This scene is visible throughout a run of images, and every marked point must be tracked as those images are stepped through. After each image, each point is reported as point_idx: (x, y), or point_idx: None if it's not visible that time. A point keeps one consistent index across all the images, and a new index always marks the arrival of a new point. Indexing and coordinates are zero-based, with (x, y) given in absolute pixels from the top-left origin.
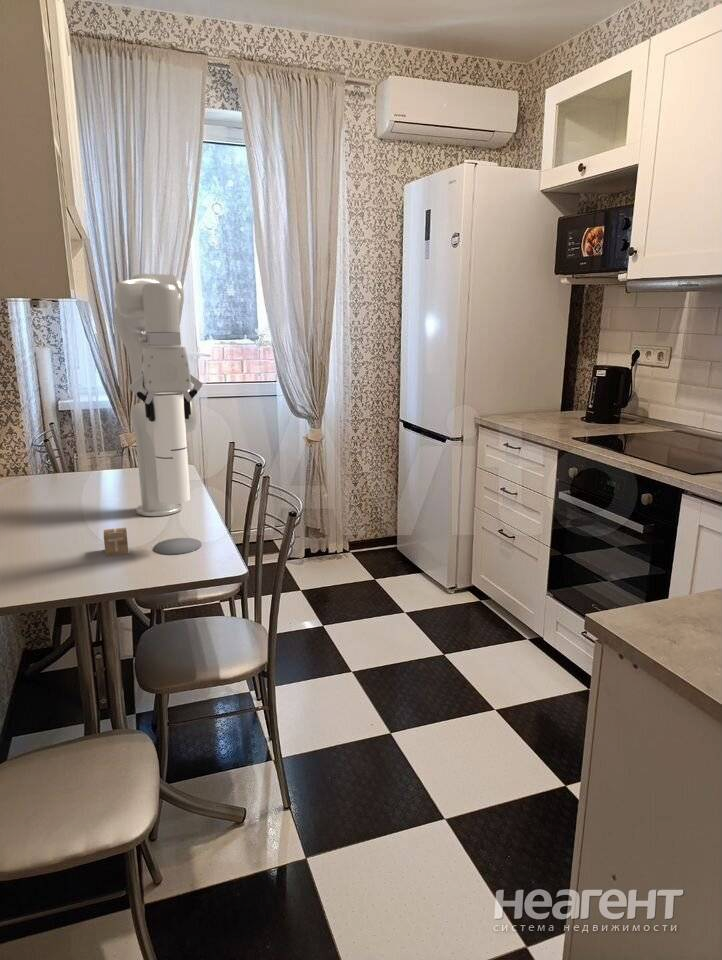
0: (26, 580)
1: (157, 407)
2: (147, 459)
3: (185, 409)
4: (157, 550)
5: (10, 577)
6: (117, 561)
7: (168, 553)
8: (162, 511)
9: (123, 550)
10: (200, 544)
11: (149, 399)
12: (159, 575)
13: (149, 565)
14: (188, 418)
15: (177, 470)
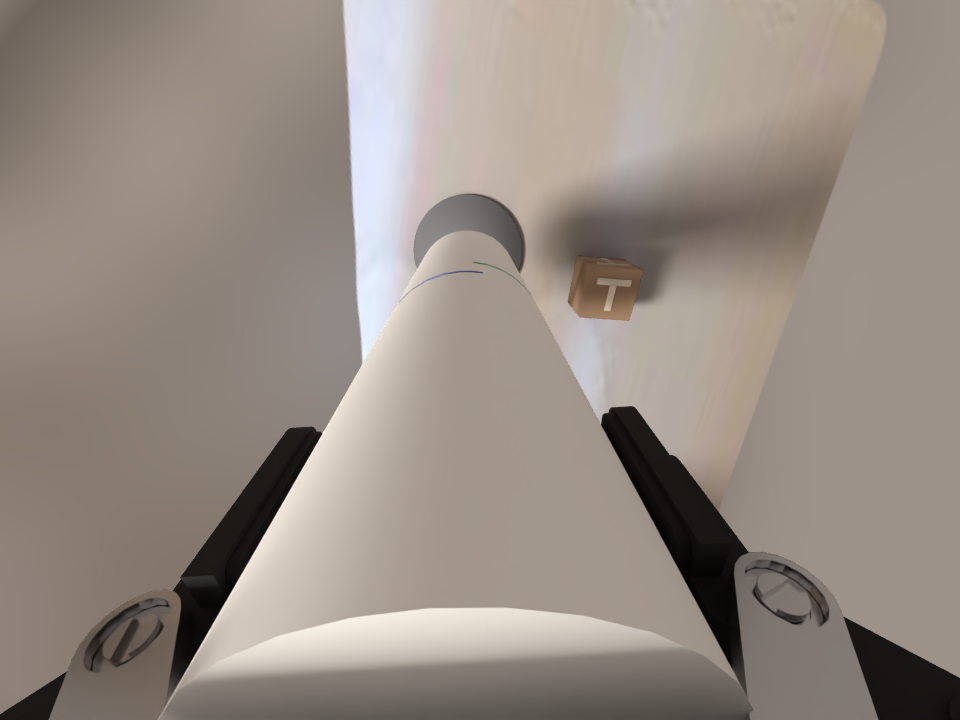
0: (805, 172)
1: (626, 480)
2: None
3: (278, 494)
4: (518, 236)
5: (821, 210)
6: (610, 211)
7: (498, 205)
8: None
9: (589, 258)
10: (417, 235)
11: (781, 622)
12: (549, 44)
13: (554, 143)
14: (295, 428)
15: (456, 250)
